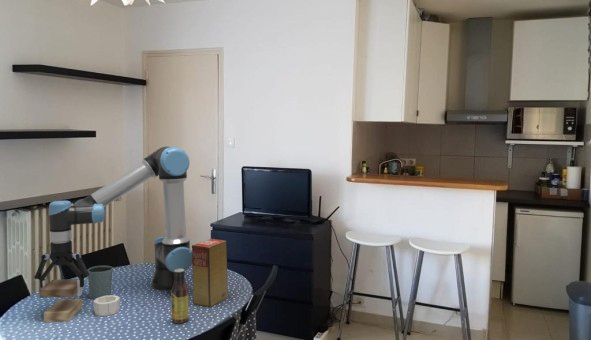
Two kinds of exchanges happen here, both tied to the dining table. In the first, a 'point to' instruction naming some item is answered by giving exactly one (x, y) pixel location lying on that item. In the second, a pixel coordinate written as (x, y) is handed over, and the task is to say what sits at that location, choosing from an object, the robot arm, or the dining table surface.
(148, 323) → the dining table surface
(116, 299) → the bowl
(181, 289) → the sauce bottle
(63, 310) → the light wooden block
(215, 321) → the dining table surface
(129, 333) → the dining table surface
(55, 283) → the cover board
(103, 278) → the grey-green cup
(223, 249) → the food packaging
